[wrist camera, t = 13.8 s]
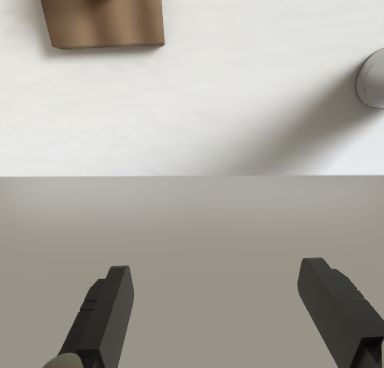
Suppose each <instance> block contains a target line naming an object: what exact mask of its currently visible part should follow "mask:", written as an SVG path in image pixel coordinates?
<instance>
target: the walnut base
mask: <svg viewBox="0 0 384 368" xmlns="http://www.w3.org/2000/svg"><path fill="white" fill-rule="evenodd" d="M41 3H42V7H43V11H44V15H45V19H46V23H47V27H48V31H49V35H50V39H51V43H52V47H56V48H59V49H73V48H98V47H123V46H148V45H165V43H164V30H163V16H162V3H161V0H41Z"/></svg>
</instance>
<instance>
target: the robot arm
mask: <svg viewBox="0 0 384 368" xmlns="http://www.w3.org/2000/svg"><path fill="white" fill-rule="evenodd" d="M356 89H357V94H358V97H359V98H360V100H361V101H362V102H363V103H364V104H366V105H368V106H371V107H378V108H384V48H383V49H381V50H378V51H377V52H376V53H374V54H373V55H372V56H371V57H370V58H369V59H368V60H367V61H366V62H365V63H364V65H363V66H362V68H361V70H360V72H359V75H358V78H357V83H356ZM297 285H298V291H299V295H300V297H301V299H302V301H303V303H304V305H305V306H306V308H307V310H308V312H309V314H310V316H311V318H312V319H313V321H314V323H315V325H316V327H317V329H318V331H319V333H320V334H321V336H322V338H323V340H324V342H325V344H326V346H327V347H328V349H329V351H330V353H331V355H332V357H333V358H334V360H335V362H336V364H337V366H338V368H384V320H383V319H382V318H381V317H380V315H379V314H378V313H377V312H376V311H375V309H374V308H373V307H372V306H371V305H370V303H369V302H368V301H367V300H365V299H364V296H363V295H362V294H361V293H360V291H358V290H357V288H356V287H355V286H354V284H353V283H352V282H351V281H350V280H349V278H348V277H346V276H345V275H343V274H342V273H341V272H339V271H338V270H337V269H331V268H330V267H329V265H328V264H327V263H326V261H325V260H324V259H323V258H320V257H319V258H304V259H303V260H302V263H301V268H300V273H299V278H298V284H297ZM133 299H134V289H133V284H132V278H131V273H130V268H129V266H112V267H111V268H110V270H109V272H108V274H107V277H106V279H98V280H97V281H96V282H95V284H94V285H93V286H92V287H91V288H90V289H89V291H88V293H87V295H86V297H85V300H84V302H83V304H82V306H81V308H80V312H78V314H77V316H76V319H75V321H74V323H73V325H72V327H71V329H70V331H69V333H68V336H67V338H66V340H65V342H64V344H63V346H62V348H61V350H60V352H59V354H58V355H57V356H56V357H54V358H53V359H52V360H50V361H49V362H48V363H46V364H45V365H44V367H43V368H118V363H119V359H120V355H121V351H122V347H123V343H124V339H125V335H126V330H127V326H128V322H129V318H130V314H131V310H132V306H133Z"/></svg>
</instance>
